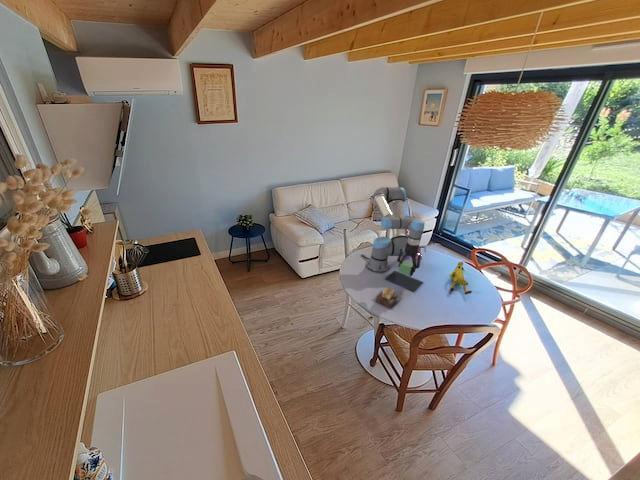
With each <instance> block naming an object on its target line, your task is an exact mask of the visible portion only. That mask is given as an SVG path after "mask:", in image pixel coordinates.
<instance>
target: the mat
mask: <svg viewBox="0 0 640 480" xmlns="http://www.w3.org/2000/svg"><path fill="white" fill-rule="evenodd" d="M384 279H385V280H386V281H387V282H390V283H393V284H395V285H397V286H400V287H402V288H404V289H407V290H409V291H411V292H415V291H416V290H417V289H418V288H419V287H420V286H421V285H422V284H423V282H422V281H421V280H418V279H416V278H413V277H412V276H409V275H406V274H404V273H401V272H399V271H395V270H394V271H393V272H392V273H391V274H389V275H388V276H387V277H385V278H384Z"/></svg>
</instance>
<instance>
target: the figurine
mask: <svg viewBox="0 0 640 480" xmlns="http://www.w3.org/2000/svg"><path fill="white" fill-rule="evenodd" d="M464 272H466V270H465V269H464V262H462V261H458V263H457V265H456V267H455V268H454V270H452V271H451V273H450V274H449V277H450V279H452V281H453V282H452V283H451V285H450V289H449V293H452V292H453V291H454V290H455V288H454V287H455V285H456V284H458V285H461V286H462V290H463V292H464V295H470V294H471V293H472V290H467V287H466V286H469V282H467V280H466V279H465V277H464Z"/></svg>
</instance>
